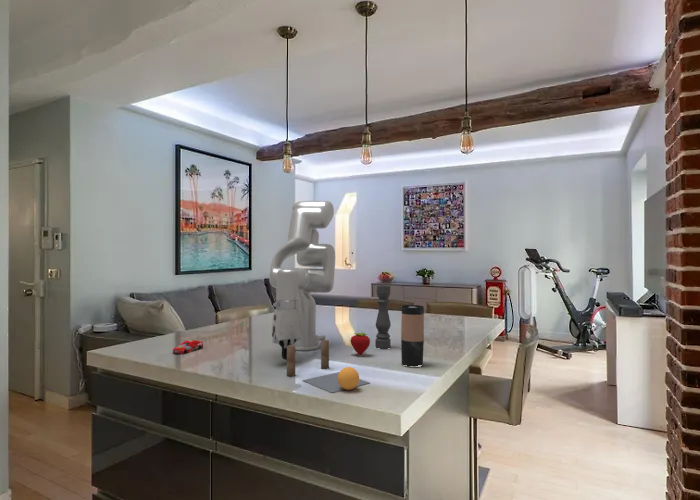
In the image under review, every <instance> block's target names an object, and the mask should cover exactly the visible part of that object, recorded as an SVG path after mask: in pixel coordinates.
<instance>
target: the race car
mask: <svg viewBox="0 0 700 500" xmlns="http://www.w3.org/2000/svg"><path fill="white" fill-rule="evenodd" d="M203 348H204V342H203V341H200V340H197V339H196V340H194V339H189V340H185V341H182V343H179V345H177V346H175V347H174V348H172V354H175V355H176V354H177V355H186V354H188V353H189V354H190V353H192V352H195V351H199V350H202V349H203Z"/></svg>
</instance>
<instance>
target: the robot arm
mask: <svg viewBox="0 0 700 500" xmlns="http://www.w3.org/2000/svg"><path fill="white" fill-rule="evenodd" d="M291 208H292V210H291V211H292V212H291V216H290V221H289V227H288V234H287V239H286V240H287V241H286V242H285V243H284V244H283V245H282V246H281V247H280V248H279V249H277V251H276V252H275V254H274V255H273V258H272V259H271V265H270V268H269V269H270V270H269V284H270V286H271V287H272V288H275V289H276V296H275V302H273V304H272V306H273V307H274V308H275V309H274V312H273V315H272V323H271V324H272V325H271V337H272V340H271V342H272V344H277V345H278V346H280V348H281V359H282V360H286V361H287V346H288V345H295V346H296V348H295V351H311V350H313V351H314V350H317V349H318V348H320V343H318V342H321V340H326V336H325V335H320V336H319V335H317V334H316V331H317V330H316V328H317V327H316V326H317V325H316V324H317V322H316V319H317V316H316V315H317V314H316V313H317V305H316V300H315V298H314V297H313V296H312V293H315V294H316V293H317V294H319V293H326V294H327V293H331V291H332V290H333V288H334V283H335V269H336V250H335V248H334V246H333V245H332V244H328V243H319V238H320V234H319V232H318V229H321V230H322V229H326V228H328V227H329V225H330V223H331V221H332V220H333V217H334V214H335V209H334V205H333V203H332V202H331V201H329V200H301V201H297V202H294V203H293V204H292V207H291ZM294 255H296V263H297V264H298V266H301V267H282V265H283V263H284V262H285V261H286V260H287V259H288V258H291V257H292V256H294ZM303 267H305V268H303ZM306 267H307V268H306ZM309 267H310V268H309ZM311 267H313V268H311Z"/></svg>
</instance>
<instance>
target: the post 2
mask: <svg viewBox="0 0 700 500" xmlns="http://www.w3.org/2000/svg"><path fill="white" fill-rule="evenodd" d="M320 345H321V346H320V369H322V370H328V369H330V340H328V339H325V340H321V341H320Z"/></svg>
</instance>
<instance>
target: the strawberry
mask: <svg viewBox="0 0 700 500" xmlns="http://www.w3.org/2000/svg"><path fill="white" fill-rule="evenodd" d="M370 343H371V339H370V337H369V336H368V334H367V333H365V332H361V333H360V332H354V333H353V335H352V336H351V337H350V345H351V347H352V348H353V350H354V351H355V352H356V353H357V355H358V356H360V355H361V356H362V355H364V353H365V352H366V351H367V349H368V348H369V346H370Z"/></svg>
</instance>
